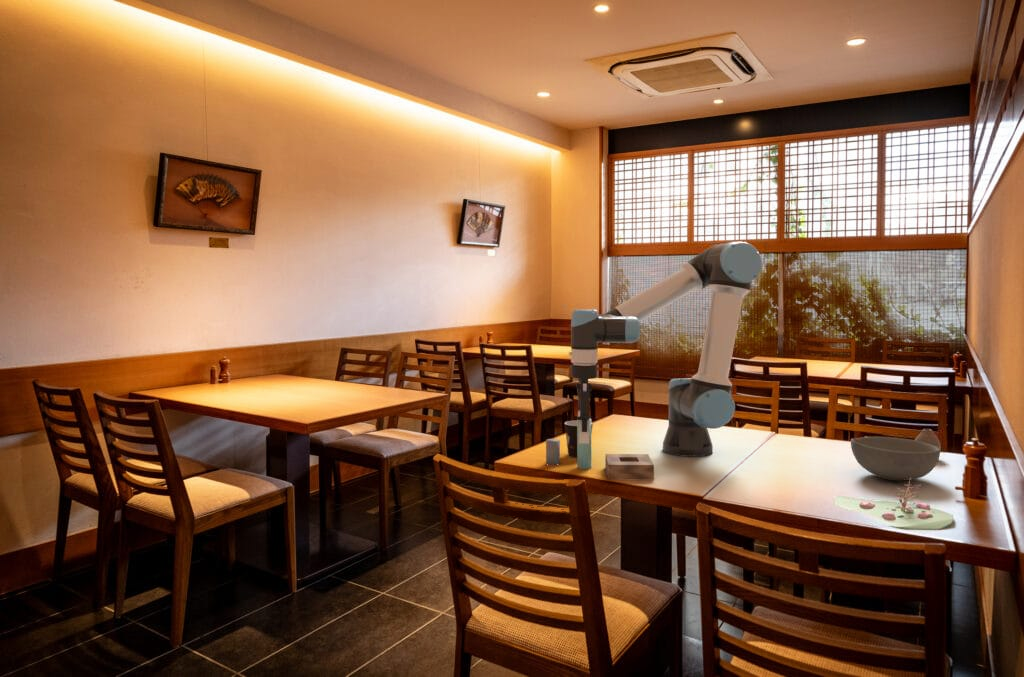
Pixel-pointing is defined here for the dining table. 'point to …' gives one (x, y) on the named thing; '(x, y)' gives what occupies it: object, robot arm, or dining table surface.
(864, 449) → the bowl
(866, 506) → the plant
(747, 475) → the dining table surface
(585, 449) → the teal dowel
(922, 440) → the vase
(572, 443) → the coffee mug
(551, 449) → the grey-blue block
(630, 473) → the socket block
